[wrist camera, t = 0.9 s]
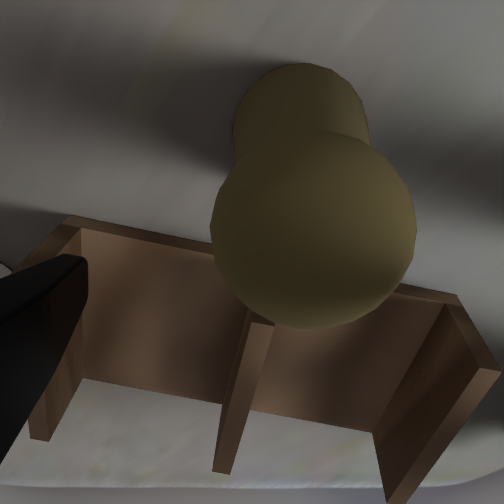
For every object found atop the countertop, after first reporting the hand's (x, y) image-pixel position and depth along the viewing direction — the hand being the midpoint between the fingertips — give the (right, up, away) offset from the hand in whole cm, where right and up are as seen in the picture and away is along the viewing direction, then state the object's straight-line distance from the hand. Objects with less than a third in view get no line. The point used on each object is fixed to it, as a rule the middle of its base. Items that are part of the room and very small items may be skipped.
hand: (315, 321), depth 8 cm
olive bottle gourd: (+1, +7, +11) cm, 13 cm away
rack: (-2, -3, +17) cm, 17 cm away
